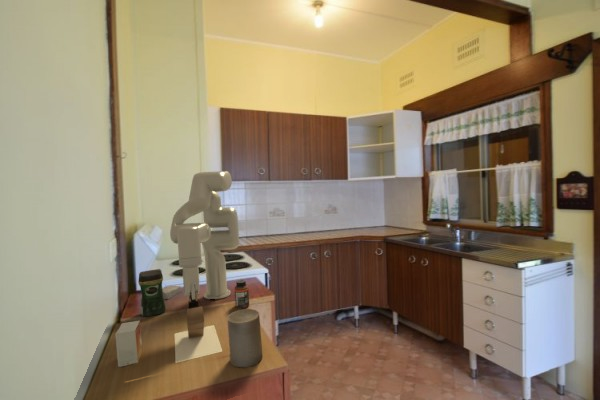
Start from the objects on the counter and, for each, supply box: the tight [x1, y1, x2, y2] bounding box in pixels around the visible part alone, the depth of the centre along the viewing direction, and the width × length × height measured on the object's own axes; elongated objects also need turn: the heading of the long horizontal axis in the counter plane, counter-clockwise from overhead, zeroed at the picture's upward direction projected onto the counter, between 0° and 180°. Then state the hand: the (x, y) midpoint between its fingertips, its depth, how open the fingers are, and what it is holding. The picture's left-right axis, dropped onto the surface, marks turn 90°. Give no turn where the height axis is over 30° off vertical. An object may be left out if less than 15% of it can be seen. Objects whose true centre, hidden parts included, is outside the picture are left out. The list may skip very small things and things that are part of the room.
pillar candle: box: [226, 308, 263, 368], centre depth 96 cm, size 10×10×15 cm
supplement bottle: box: [234, 279, 250, 309], centre depth 138 cm, size 6×6×11 cm
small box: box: [114, 320, 143, 368], centre depth 99 cm, size 8×6×10 cm
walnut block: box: [186, 305, 205, 338], centre depth 109 cm, size 5×5×12 cm
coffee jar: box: [137, 268, 167, 317], centre depth 135 cm, size 10×8×19 cm
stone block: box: [162, 284, 182, 300], centre depth 158 cm, size 12×5×10 cm
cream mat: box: [174, 324, 223, 364], centre depth 108 cm, size 21×14×1 cm, turn 22°
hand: (193, 311), depth 113 cm, fingers closed
